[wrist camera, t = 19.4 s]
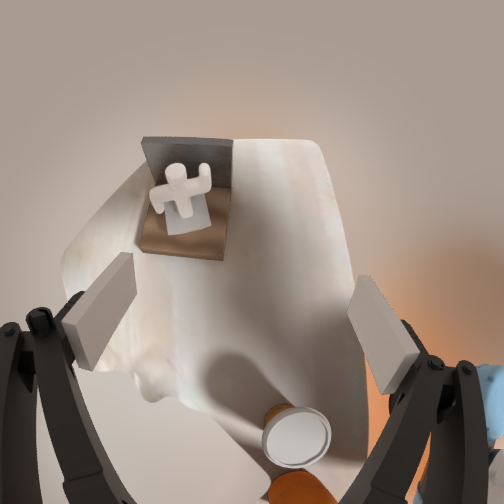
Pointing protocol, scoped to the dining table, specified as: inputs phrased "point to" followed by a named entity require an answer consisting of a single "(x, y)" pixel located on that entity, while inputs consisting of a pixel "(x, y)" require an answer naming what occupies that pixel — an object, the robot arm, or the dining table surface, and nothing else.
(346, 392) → the dining table surface
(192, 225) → the figurine
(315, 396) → the dining table surface
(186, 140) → the grey metal bookend
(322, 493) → the wine bottle
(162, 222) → the walnut shelf board
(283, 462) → the disposable coffee cup
